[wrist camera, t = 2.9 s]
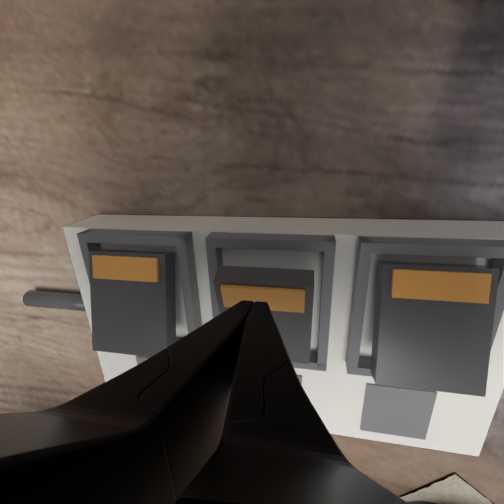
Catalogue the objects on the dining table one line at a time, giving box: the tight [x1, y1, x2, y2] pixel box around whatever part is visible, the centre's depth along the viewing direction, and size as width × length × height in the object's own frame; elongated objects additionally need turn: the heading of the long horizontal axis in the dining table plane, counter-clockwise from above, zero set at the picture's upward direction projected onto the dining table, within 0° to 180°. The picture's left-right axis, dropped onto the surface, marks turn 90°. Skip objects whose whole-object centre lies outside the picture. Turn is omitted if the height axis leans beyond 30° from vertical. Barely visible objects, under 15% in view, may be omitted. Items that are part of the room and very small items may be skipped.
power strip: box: [23, 215, 504, 456], centre depth 15 cm, size 26×11×3 cm, turn 92°
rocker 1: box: [89, 249, 176, 357], centre depth 13 cm, size 4×4×1 cm
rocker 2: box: [370, 261, 500, 397], centre depth 11 cm, size 4×4×1 cm
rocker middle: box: [213, 265, 314, 364], centre depth 12 cm, size 4×4×1 cm
